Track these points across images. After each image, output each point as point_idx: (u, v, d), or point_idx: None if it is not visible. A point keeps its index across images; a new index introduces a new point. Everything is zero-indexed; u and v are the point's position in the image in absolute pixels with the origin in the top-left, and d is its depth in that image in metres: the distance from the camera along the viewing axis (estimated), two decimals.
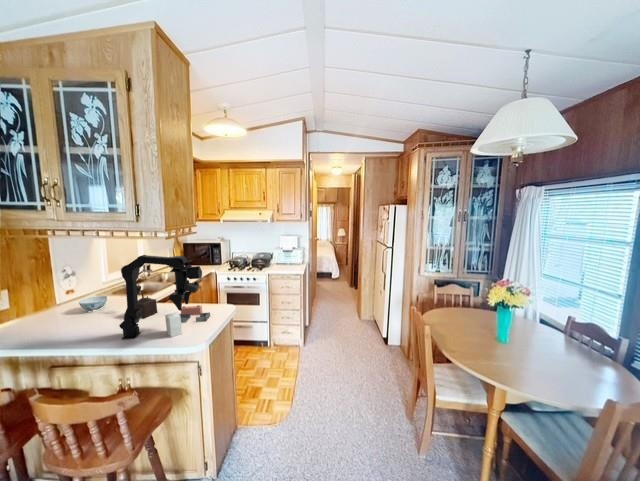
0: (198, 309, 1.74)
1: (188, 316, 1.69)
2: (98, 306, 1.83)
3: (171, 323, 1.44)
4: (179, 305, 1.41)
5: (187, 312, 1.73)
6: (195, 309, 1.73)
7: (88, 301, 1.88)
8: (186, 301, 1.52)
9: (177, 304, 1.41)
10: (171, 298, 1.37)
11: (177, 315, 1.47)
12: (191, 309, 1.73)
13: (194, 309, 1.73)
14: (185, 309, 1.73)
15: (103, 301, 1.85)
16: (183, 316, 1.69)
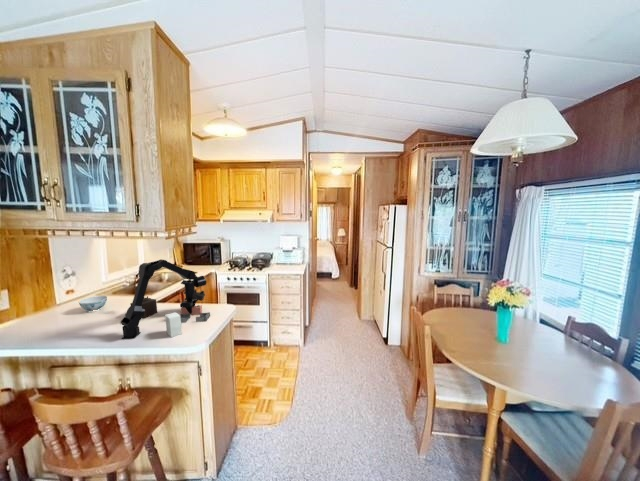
0: (198, 309, 1.74)
1: (188, 316, 1.69)
2: (98, 306, 1.83)
3: (171, 323, 1.44)
4: (190, 309, 1.72)
5: (187, 312, 1.73)
6: (195, 309, 1.73)
7: (88, 301, 1.88)
8: None
9: (188, 308, 1.72)
10: (182, 305, 1.65)
11: (177, 315, 1.47)
12: None
13: (194, 309, 1.73)
14: (185, 309, 1.73)
15: (103, 301, 1.85)
16: (183, 316, 1.69)
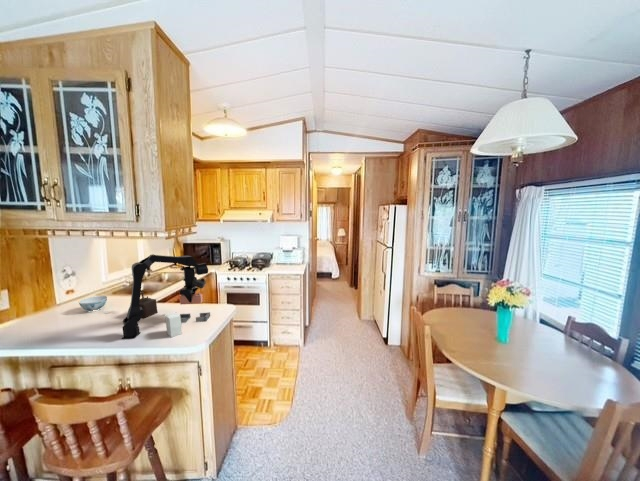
0: (198, 297, 1.64)
1: (188, 316, 1.69)
2: (98, 306, 1.83)
3: (171, 323, 1.44)
4: (189, 297, 1.62)
5: (187, 300, 1.63)
6: (195, 297, 1.64)
7: (88, 301, 1.88)
8: None
9: (188, 296, 1.62)
10: (181, 293, 1.55)
11: (177, 315, 1.47)
12: None
13: (194, 297, 1.63)
14: (185, 297, 1.63)
15: (103, 301, 1.85)
16: (183, 316, 1.69)
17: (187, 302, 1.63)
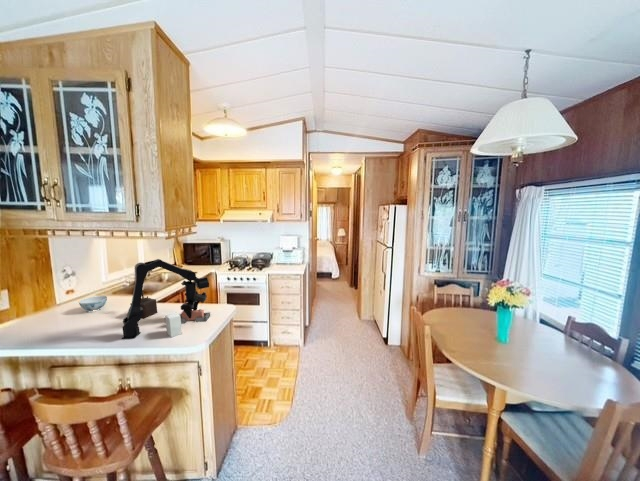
0: (200, 313, 1.65)
1: None
2: (98, 306, 1.83)
3: (171, 323, 1.44)
4: (189, 313, 1.61)
5: None
6: (196, 313, 1.65)
7: (88, 301, 1.88)
8: None
9: (188, 312, 1.60)
10: (182, 308, 1.56)
11: (177, 315, 1.47)
12: (192, 313, 1.64)
13: (195, 313, 1.65)
14: None
15: (103, 301, 1.85)
16: None
17: (188, 318, 1.65)
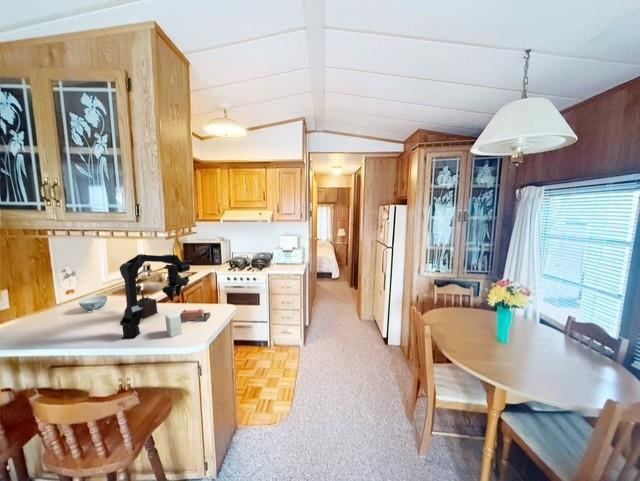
0: (200, 313, 1.65)
1: None
2: (98, 306, 1.83)
3: (171, 323, 1.44)
4: (171, 296, 1.64)
5: (188, 316, 1.64)
6: (196, 313, 1.65)
7: (88, 301, 1.88)
8: (178, 293, 1.74)
9: (169, 295, 1.64)
10: (164, 290, 1.60)
11: (177, 315, 1.47)
12: (192, 313, 1.64)
13: (195, 313, 1.65)
14: (186, 313, 1.64)
15: (103, 301, 1.85)
16: None
17: (188, 318, 1.65)
